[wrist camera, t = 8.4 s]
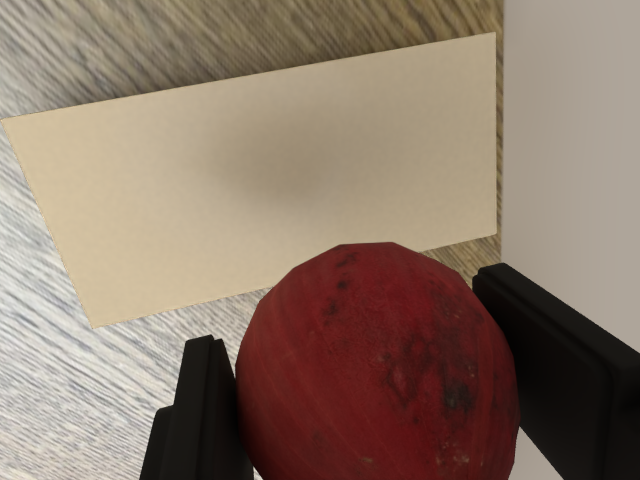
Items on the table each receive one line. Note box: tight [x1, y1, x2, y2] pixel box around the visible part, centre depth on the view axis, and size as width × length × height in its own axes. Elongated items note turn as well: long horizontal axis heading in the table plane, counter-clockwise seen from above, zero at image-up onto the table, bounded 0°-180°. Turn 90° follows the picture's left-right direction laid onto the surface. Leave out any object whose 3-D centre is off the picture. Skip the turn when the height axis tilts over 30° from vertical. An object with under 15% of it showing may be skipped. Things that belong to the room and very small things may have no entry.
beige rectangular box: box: [0, 32, 496, 329], centre depth 24 cm, size 23×11×6 cm, turn 99°
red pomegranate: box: [235, 242, 521, 480], centre depth 9 cm, size 6×6×8 cm
